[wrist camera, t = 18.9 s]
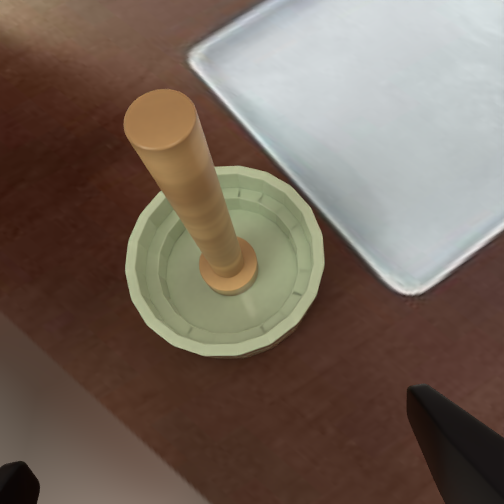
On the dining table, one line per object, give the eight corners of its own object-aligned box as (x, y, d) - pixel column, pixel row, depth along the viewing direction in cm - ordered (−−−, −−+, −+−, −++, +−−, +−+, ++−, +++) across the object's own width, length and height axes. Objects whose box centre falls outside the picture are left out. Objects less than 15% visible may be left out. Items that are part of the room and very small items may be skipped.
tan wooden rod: (263, 290, 22) (236, 160, 9) (207, 301, 23) (95, 189, 9) (252, 238, 24) (215, 53, 10) (200, 249, 24) (91, 79, 10)
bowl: (210, 397, 21) (194, 403, 17) (120, 257, 25) (91, 236, 21) (353, 286, 23) (367, 269, 19) (249, 169, 26) (244, 134, 22)
